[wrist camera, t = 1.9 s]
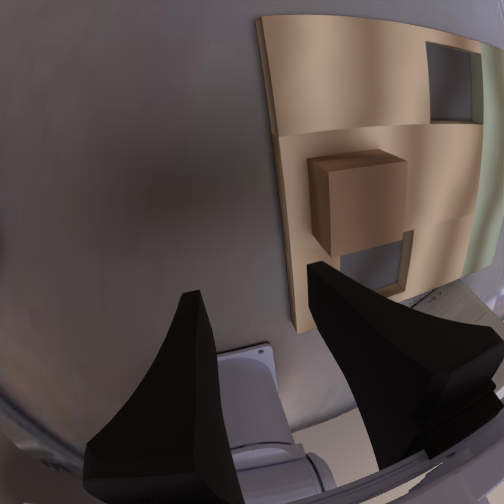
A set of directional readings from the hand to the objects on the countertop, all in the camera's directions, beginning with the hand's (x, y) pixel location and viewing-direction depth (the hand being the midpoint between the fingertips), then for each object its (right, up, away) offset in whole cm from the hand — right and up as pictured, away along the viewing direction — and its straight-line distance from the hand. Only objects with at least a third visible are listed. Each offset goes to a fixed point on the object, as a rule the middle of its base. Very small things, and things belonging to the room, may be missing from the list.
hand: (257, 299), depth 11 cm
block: (+6, +5, +8) cm, 11 cm away
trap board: (+13, +8, +10) cm, 18 cm away
